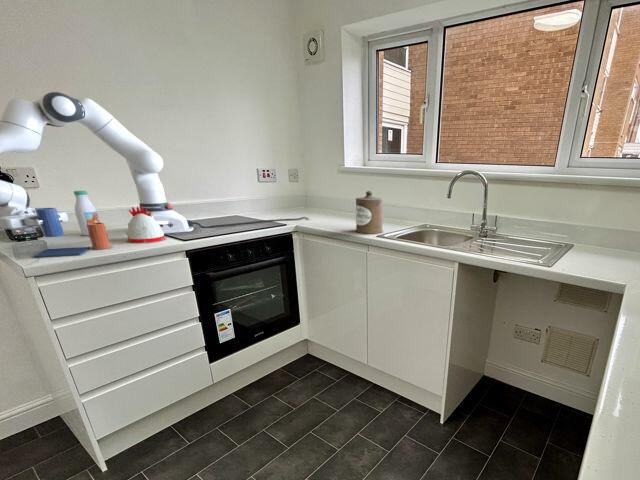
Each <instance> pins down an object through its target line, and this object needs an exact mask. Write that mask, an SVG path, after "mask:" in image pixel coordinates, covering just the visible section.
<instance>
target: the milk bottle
mask: <svg viewBox="0 0 640 480" xmlns="http://www.w3.org/2000/svg"><path fill="white" fill-rule="evenodd" d="M73 194H74V197H75V204H74V212H75V217H76V220H77V222H78V227H79V231H80V233H81V235H82V236H89V233H88V230H87V226H86V224H88V223H98V222H99V223H101V222H100V218H99V215H98V211H97V209H96V207H95V205H94V204H93V203H92V202H91V200H90V198H89V195H88V191H87V190H74V191H73Z"/></svg>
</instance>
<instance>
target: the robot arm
mask: <svg viewBox="0 0 640 480" xmlns="http://www.w3.org/2000/svg"><path fill="white" fill-rule="evenodd" d="M75 122H76V123H79V124H81V125H82V126H84V127H86V128H87V129H88V130H89V131H90V132H91V133H92V134H93V135H95V137H97V138H98V139H99V140H101V141H102V142H103V143H104V144H105V145H106V146H107V147H109V148H110V149H111V150H113V151H114V152H116V153H117V154H119V155H120V156H121V157H123V158H124V159H125V161H126V162H125V163H126V165H127V166H128V169H129V172H130V175H131V177H132V179H133V183H134V185H135V187H136V191H137V192H136V193H137V196H138V201H139V203H138V204H139V206H138V208H139V210H140V211H141V206H142V208H143V210H144V211H145V209H147V214H149V213H150V211H151V215H150V217H152V218H153V219H154V220H155V221H156V222H157V223H158V224H159V226H160V228H161V229H162V231H163V233H164V235H166V234H176V233H189V232H192V231H194V228H195V227H194V225H198V226H199V227H200V228H202V229H211V228H219V227H220V228H221V227H228V226H231V227H232V226H238V225H246V224H247V225H248V224H256V223H266V222H267V223H269V222H281V221H283V222H284V221H300V220H303V219H305V220H308V221H309V218H308V217H306V216H302V217H299V218H298V217H297V218H278V219H267V220H254V221H245V222H235V223H226V224H225V223H224V224H214V225H209V226H207V225H201V224H200V223H199V222H195V221H193V220H190V219H187V218H186V217H185V216H184V215H182V214H180V213H178V212H176V211H175V210H173V205H172V203H169V202H167V198H166V193H165V189H164V185H163V184H162V182H161V179H160V177H159V174H158V173H159V172H161V171H162V170H163V168H164V160H163V158H162V157H161V155H160V154H158V153H157V152H155V150H153V149H152V148H151V147H150V146H148V145H147V144H146V143H145V142H143V140H141V139H139V138H138V137H136V135H134V134H133V133H131V131H129V130H128V129H127V128H126V127H125V126H124V125H123V124H121V122H119V121H118V119H116V118H115V117H114V116H113V115H112V114H111V113H110V112H108V111H107V110H106V109H104V107H102V106H101V105H100V104H98V103H97V102H96V101H94V100H93V99H91V98H88V97H80V98H74V97H71V96H70V95H68V94H65V93H62V92H59V91H49V92H47V93H45V94H43V95H41V96H40V97H39V98H38V99H37V100H35V101H34V102H33V101H32V102H31V101H29V100H27V99H23V98H18V97H13V98H11V99H9V100H8V101H7V103H6V105H5V107H4V109H3V111H2V113H1V117H0V154H2V153H21V154H23V153H24V154H26V153H31V152H34V151H36V150H37V149H38V148H39V147H40V144H41V141H42V137H43V132H44V128H45V126H50V127H56V128H60V127H61V128H62V127H65V126H69V125H71V124H73V123H75ZM30 205H31V198H30V195H29V193H28V191H27V190H26V189H25V188H24V187H23V186H21V185H18V184H15V183H12V182H9V181H6V180H2V179H0V229H1V230H12V231H22V232H23V231H24V232H29V231H33V230H35V229H37V228H41V226H40V225H43V224H44V223H43V221H42V220H39V219H38V217H37V214H36V211H35V209H37V208H38V207H30ZM57 213H58V216H59V219H60V223H67V222H69V216H68V214H67V212H66V211H63V210H57Z"/></svg>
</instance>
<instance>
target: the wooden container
mask: <svg viewBox="0 0 640 480" xmlns="http://www.w3.org/2000/svg"><path fill="white" fill-rule="evenodd" d="M355 224H356V225H355V231H356V232H357V233H359V234H379V233H380V234H381V233H382V232H383V198H381V197H374V196H373V192H372V191H370V190H367V191H366V192H365V196H363V197H356V198H355Z"/></svg>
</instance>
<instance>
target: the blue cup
mask: <svg viewBox="0 0 640 480" xmlns="http://www.w3.org/2000/svg"><path fill="white" fill-rule="evenodd" d="M36 208H37V209H35V211H36V214H37V217H38V219H39V220H42V221H43V223H44V224H43V225H40V229H41V232H42V235H43V237H44V238H57V237H62V236H65V233H64V230H63V226H62V222H60V219H59V216H58V213H57V211H58V210H57V208H56V207H36Z"/></svg>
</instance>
